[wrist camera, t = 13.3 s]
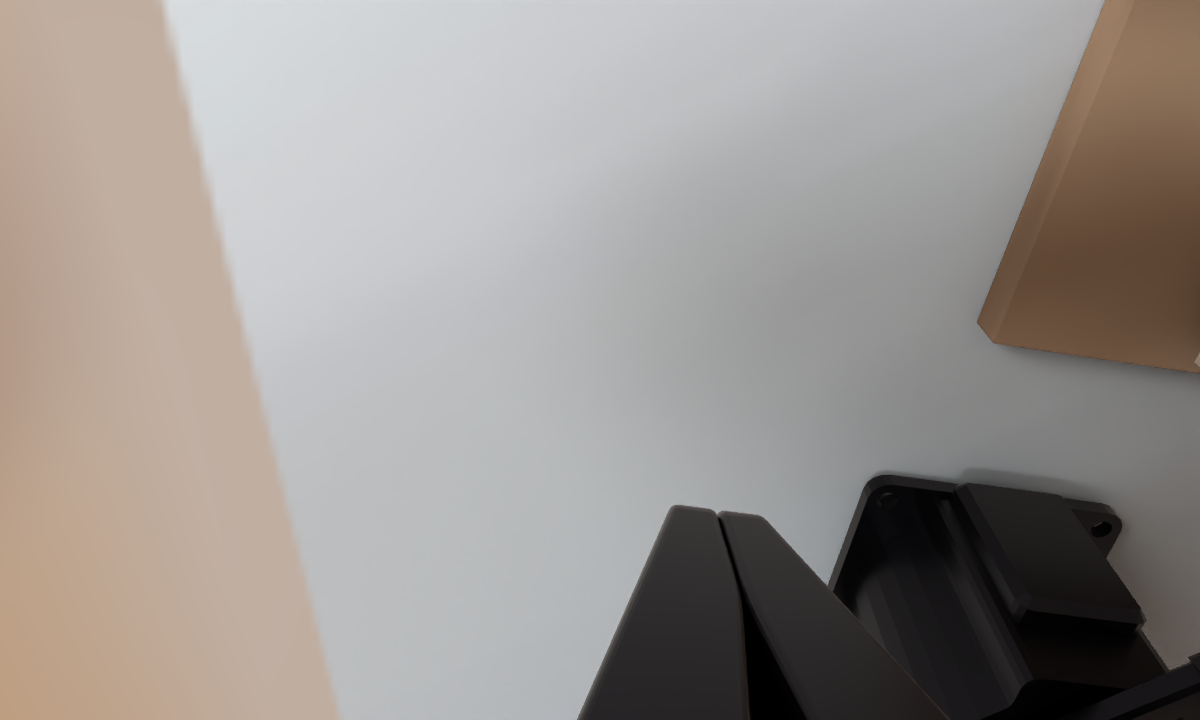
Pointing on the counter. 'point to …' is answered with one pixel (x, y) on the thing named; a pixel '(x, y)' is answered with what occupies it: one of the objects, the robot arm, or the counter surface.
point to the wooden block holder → (1115, 203)
